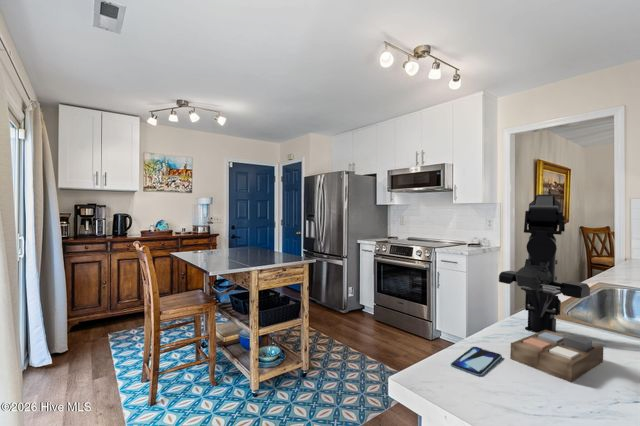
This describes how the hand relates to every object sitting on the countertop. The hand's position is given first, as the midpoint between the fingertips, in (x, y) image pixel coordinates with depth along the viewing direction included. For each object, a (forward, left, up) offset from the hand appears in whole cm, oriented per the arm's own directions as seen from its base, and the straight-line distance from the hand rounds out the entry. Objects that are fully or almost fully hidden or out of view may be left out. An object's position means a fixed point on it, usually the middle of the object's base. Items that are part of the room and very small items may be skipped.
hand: (539, 316), depth 83 cm
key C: (0, +7, -10) cm, 12 cm away
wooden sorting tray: (+3, +3, -11) cm, 12 cm away
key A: (+6, -1, -9) cm, 11 cm away
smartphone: (-7, -15, -12) cm, 20 cm away
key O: (+6, +7, -8) cm, 12 cm away
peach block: (0, -1, -10) cm, 10 cm away
